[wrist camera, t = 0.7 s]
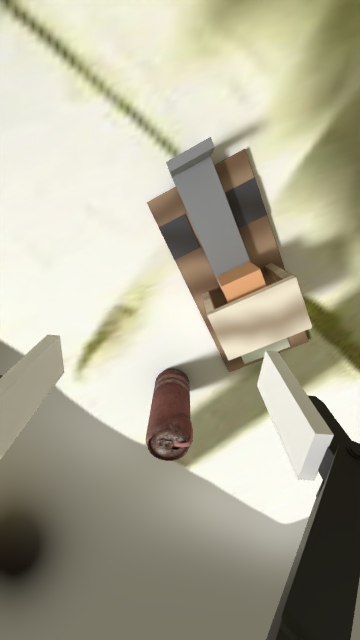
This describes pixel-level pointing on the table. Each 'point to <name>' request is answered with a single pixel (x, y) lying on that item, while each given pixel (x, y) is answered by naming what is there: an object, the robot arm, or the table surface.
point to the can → (170, 417)
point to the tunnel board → (252, 222)
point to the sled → (214, 221)
